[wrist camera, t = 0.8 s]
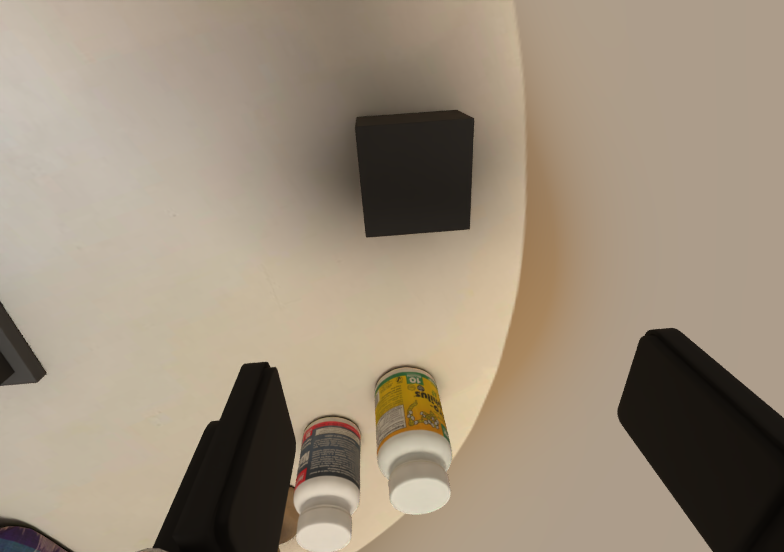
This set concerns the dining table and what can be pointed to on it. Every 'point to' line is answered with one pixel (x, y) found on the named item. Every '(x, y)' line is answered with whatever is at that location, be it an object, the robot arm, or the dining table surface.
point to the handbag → (25, 541)
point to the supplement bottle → (412, 441)
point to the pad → (415, 172)
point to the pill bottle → (327, 484)
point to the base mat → (16, 356)
